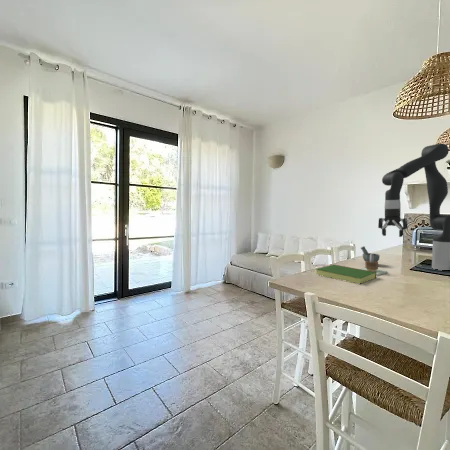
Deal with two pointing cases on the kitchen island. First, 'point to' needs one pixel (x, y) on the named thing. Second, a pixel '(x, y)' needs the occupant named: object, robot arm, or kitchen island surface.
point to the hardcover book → (346, 273)
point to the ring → (371, 265)
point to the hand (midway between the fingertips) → (392, 236)
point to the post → (378, 272)
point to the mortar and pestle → (367, 255)
